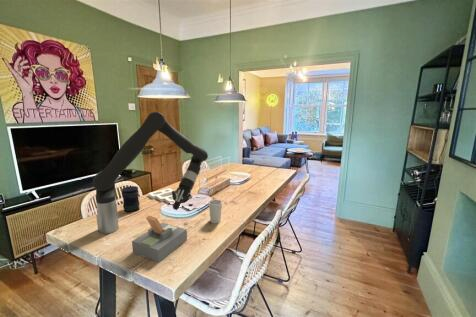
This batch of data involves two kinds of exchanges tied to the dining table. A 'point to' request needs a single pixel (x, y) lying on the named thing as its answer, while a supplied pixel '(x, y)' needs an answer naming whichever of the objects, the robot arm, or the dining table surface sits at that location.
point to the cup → (215, 210)
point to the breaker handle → (155, 225)
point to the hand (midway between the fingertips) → (174, 209)
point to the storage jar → (130, 199)
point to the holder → (162, 193)
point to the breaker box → (159, 242)
